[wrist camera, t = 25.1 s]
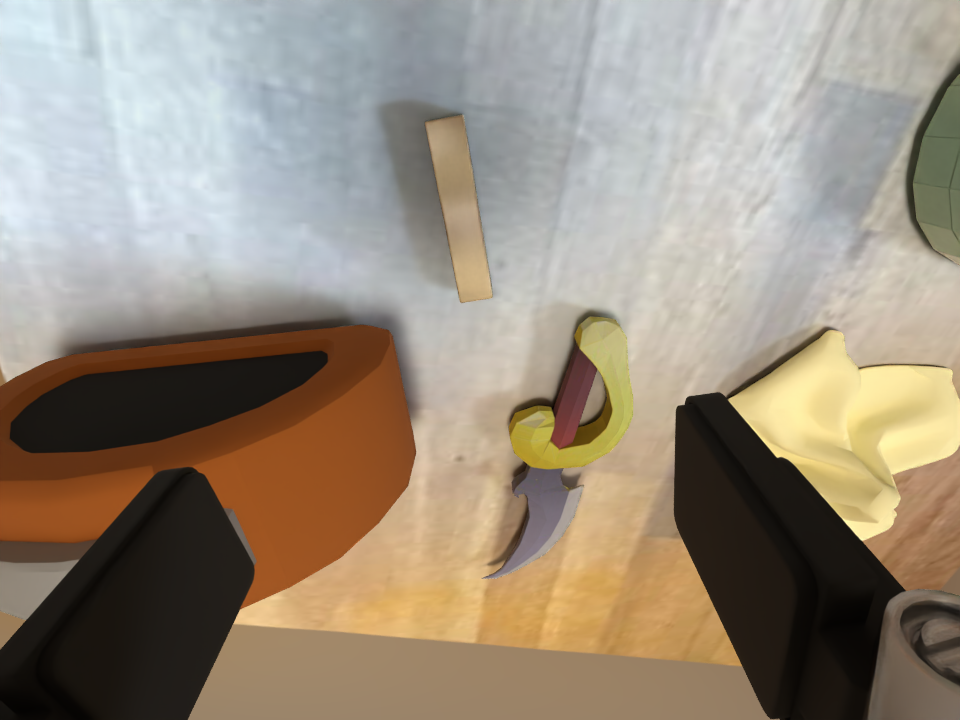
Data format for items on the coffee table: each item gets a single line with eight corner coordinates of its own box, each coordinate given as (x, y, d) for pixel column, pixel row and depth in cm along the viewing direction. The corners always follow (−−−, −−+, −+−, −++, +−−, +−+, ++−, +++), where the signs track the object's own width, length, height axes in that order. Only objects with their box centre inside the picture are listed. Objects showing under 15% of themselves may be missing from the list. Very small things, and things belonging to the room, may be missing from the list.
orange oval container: (402, 310, 32) (336, 489, 17) (424, 423, 36) (386, 647, 21) (59, 346, 33) (-286, 543, 18) (118, 452, 37) (-122, 683, 22)
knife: (549, 576, 43) (660, 324, 32) (553, 603, 41) (674, 341, 30) (463, 562, 43) (546, 299, 31) (462, 589, 40) (552, 314, 29)
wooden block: (427, 120, 27) (423, 121, 25) (463, 114, 27) (462, 114, 25) (461, 292, 31) (460, 303, 29) (492, 287, 31) (492, 298, 29)
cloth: (760, 314, 32) (818, 357, 27) (1012, 358, 34) (1116, 407, 28) (647, 552, 42) (673, 618, 37) (846, 577, 44) (899, 644, 38)
